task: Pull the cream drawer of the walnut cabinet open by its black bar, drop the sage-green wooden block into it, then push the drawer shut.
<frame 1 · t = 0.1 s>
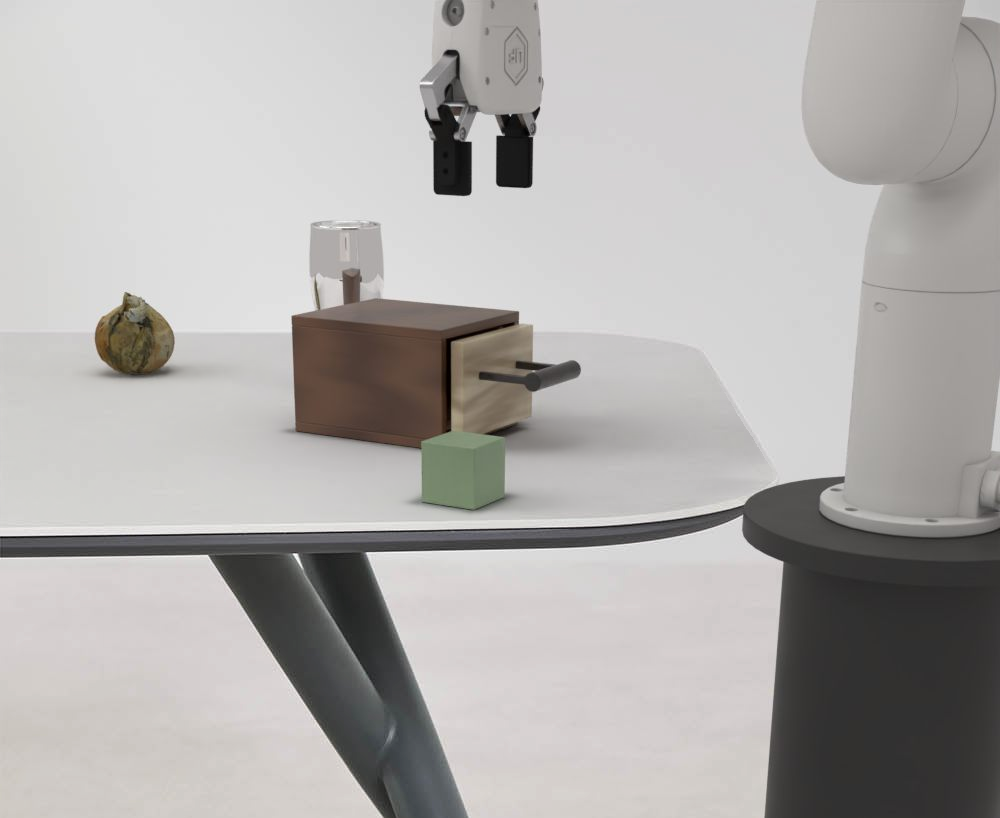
hand: (484, 190, 138), 20 cm above the table, tool pointing down, fingers open, 9 cm apart
beer glass: (349, 388, 164), on the table
onion: (138, 374, 170), on the table
cabinet: (408, 427, 147), on the table
drawer: (459, 377, 143), point 5 cm above the table, slide at 0.5 cm
block: (463, 499, 124), on the table
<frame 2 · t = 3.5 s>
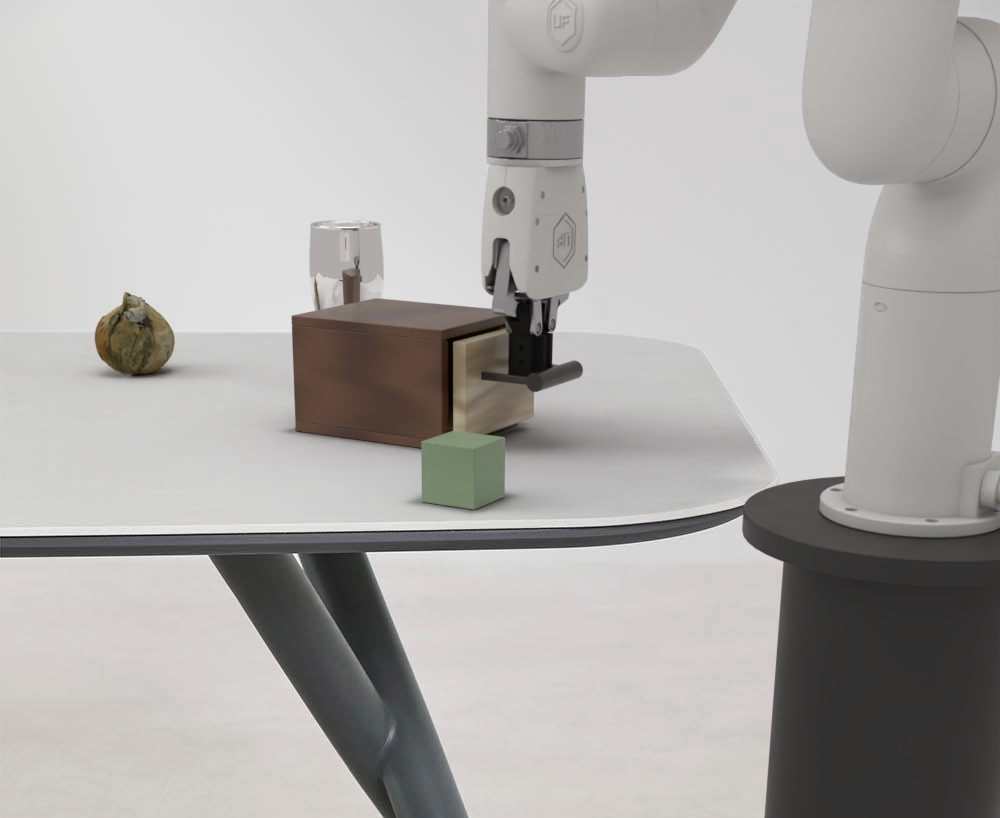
hand: (529, 381, 140), 5 cm above the table, tool pointing down, fingers closed
drawer: (461, 377, 143), point 5 cm above the table, slide at 0.7 cm, touching gripper
everything else where it was.
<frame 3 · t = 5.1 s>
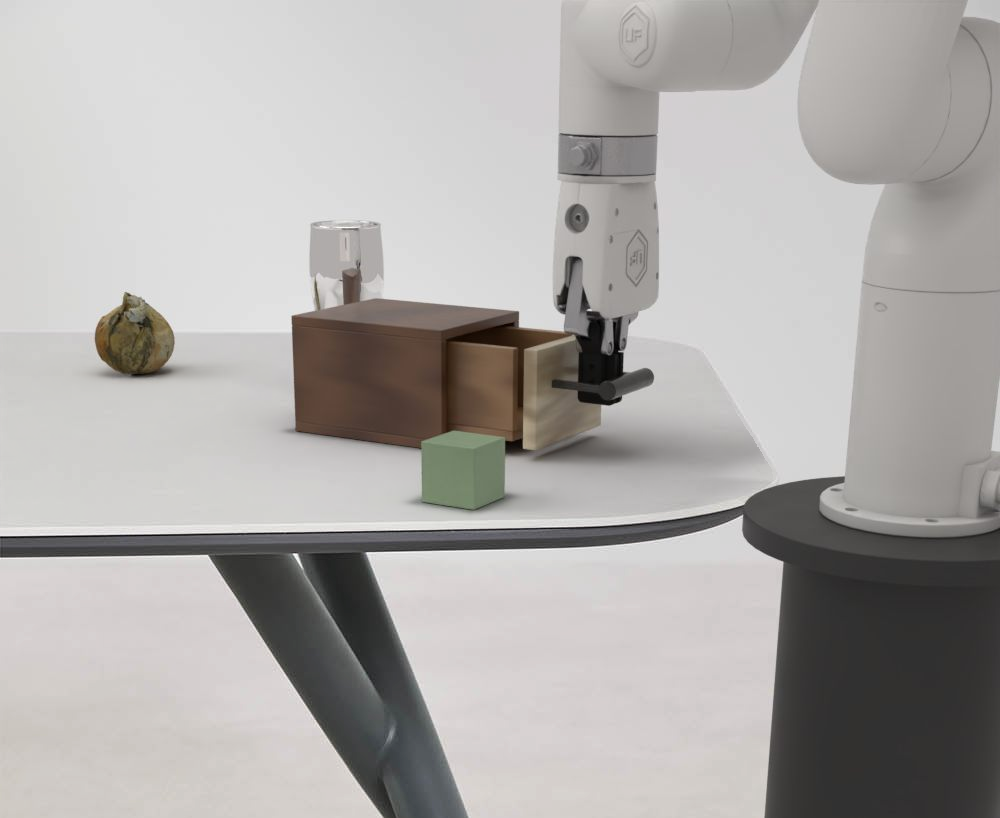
hand: (599, 401, 137), 4 cm above the table, tool pointing down, fingers closed
drawer: (528, 384, 140), point 5 cm above the table, slide at 7.1 cm, touching gripper
everything else where it was.
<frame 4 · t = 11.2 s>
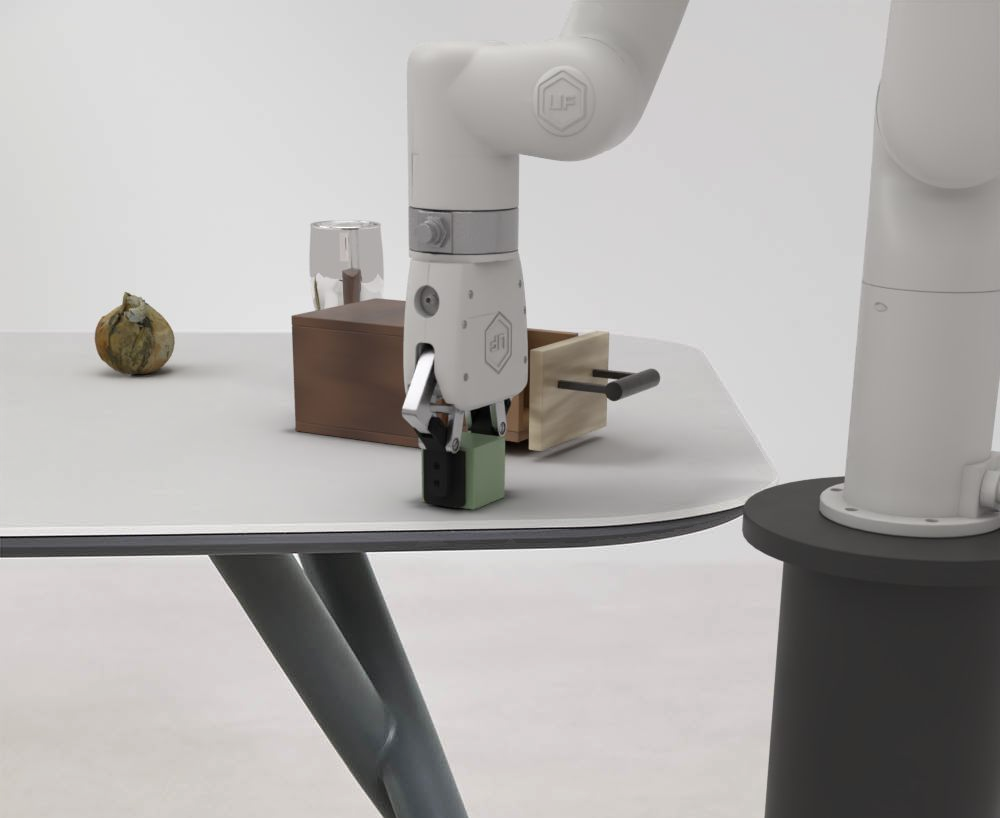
hand: (463, 494, 124), 0 cm above the table, tool pointing down, fingers closed on block, 4 cm apart
drawer: (534, 385, 139), point 5 cm above the table, slide at 7.7 cm
block: (463, 499, 124), on the table, touching gripper
everything else where it was.
when the fingers open (9 cm above the table, at t = 17.1 s): block drops 7 cm, resting on drawer.
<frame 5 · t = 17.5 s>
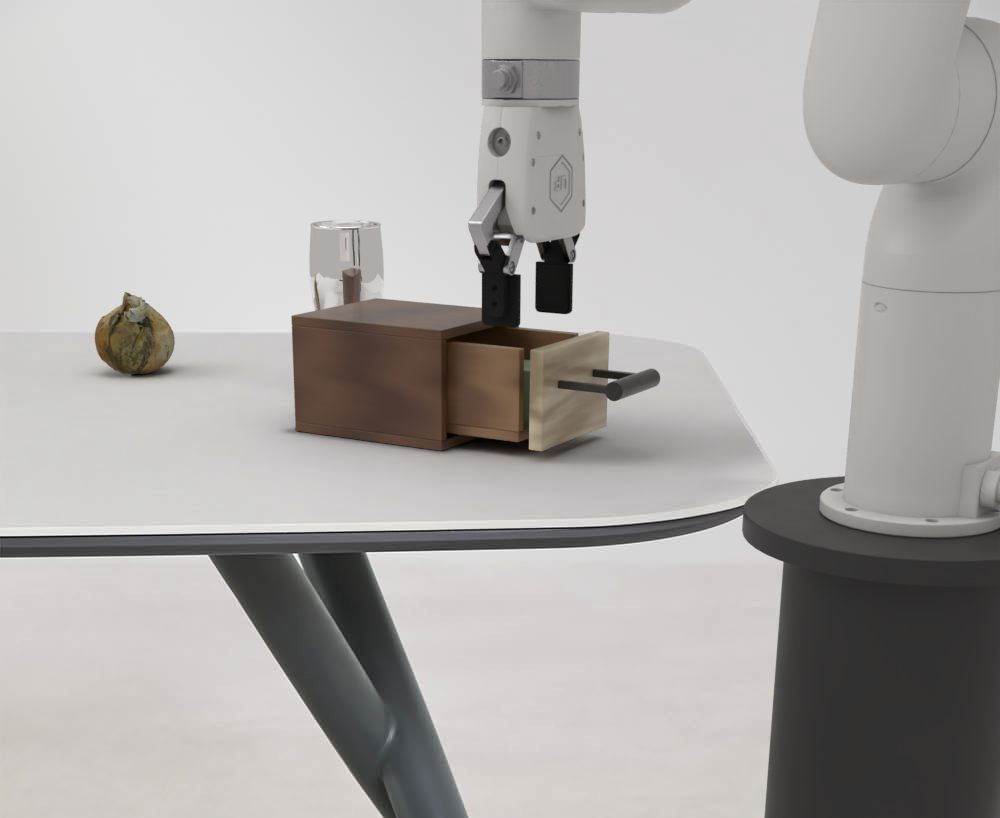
hand: (527, 318, 138), 10 cm above the table, tool pointing down, fingers open, 8 cm apart
drawer: (534, 385, 139), point 5 cm above the table, slide at 7.7 cm, touching block
block: (525, 418, 141), point 2 cm above the table, touching drawer
everything else where it was.
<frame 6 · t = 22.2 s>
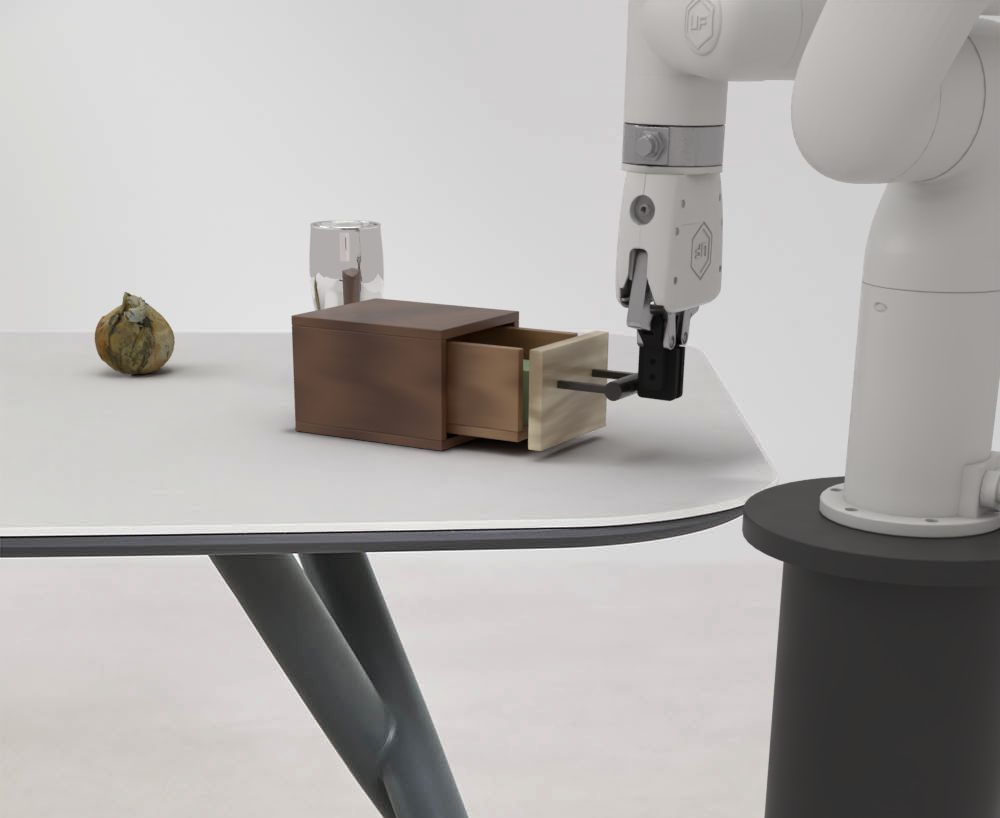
hand: (659, 396, 134), 5 cm above the table, tool pointing down, fingers closed
drawer: (533, 385, 139), point 5 cm above the table, slide at 7.6 cm, touching block, gripper
everything else where it was.
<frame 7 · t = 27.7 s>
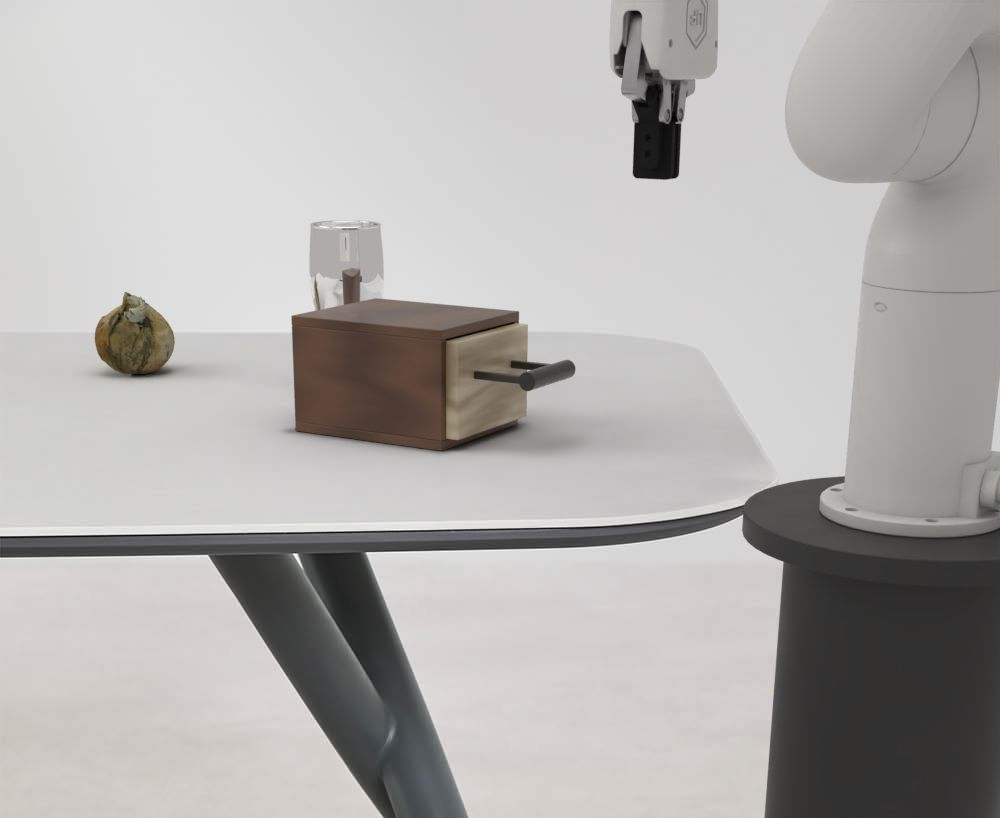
hand: (655, 177, 132), 21 cm above the table, tool pointing down, fingers closed
drawer: (453, 376, 143), point 5 cm above the table, slide at 0.0 cm, touching block, cabinet
block: (445, 409, 144), point 2 cm above the table, touching drawer
everything else where it was.
at the end: drawer pulled out 7.7 cm at the most during the clip, back to where it started at the end; block inside the target area in the cabinet (3.8 cm from its centre), point 2.0 cm above the cabinet's base; drawer slide at 0.0 cm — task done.
